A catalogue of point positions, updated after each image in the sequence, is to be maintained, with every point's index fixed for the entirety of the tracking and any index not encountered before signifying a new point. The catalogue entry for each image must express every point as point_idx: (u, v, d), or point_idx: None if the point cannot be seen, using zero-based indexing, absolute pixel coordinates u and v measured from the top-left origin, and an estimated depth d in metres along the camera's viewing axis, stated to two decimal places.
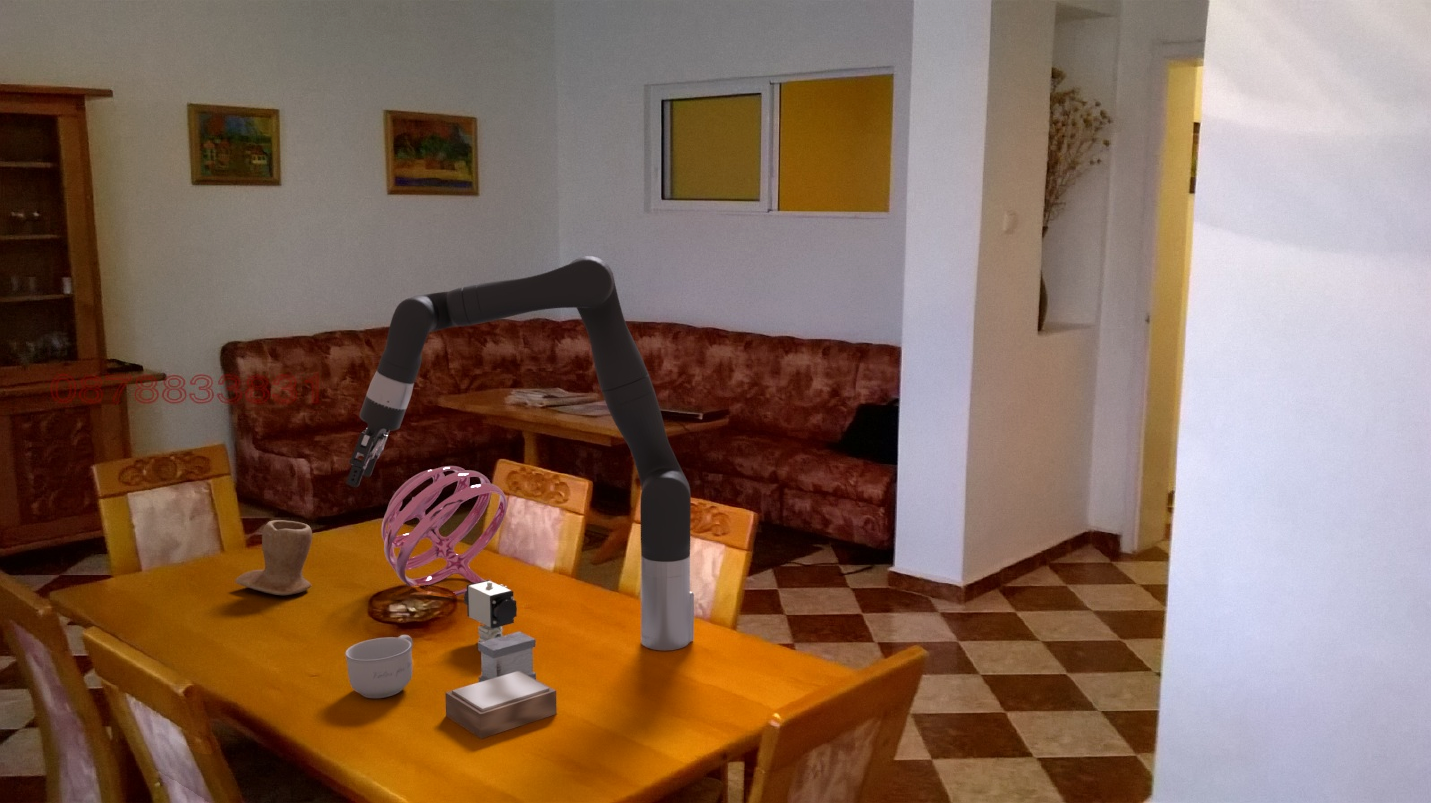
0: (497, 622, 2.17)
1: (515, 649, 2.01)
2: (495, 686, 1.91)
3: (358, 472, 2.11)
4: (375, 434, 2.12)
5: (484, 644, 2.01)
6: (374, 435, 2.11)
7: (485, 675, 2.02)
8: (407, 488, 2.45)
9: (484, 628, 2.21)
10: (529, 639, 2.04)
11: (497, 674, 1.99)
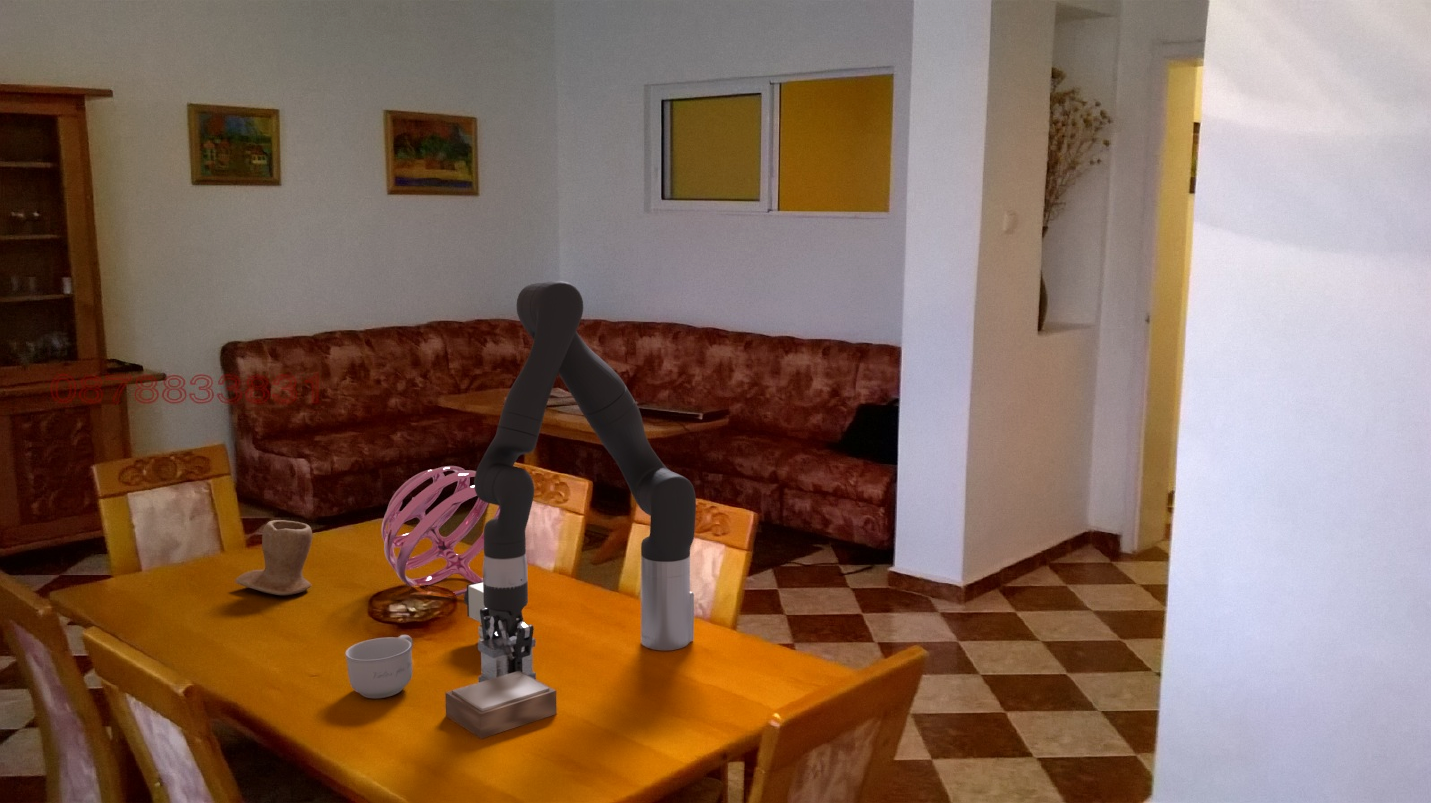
0: None
1: None
2: (495, 686, 1.91)
3: (521, 662, 2.01)
4: (522, 618, 2.00)
5: (484, 644, 2.01)
6: (522, 619, 1.99)
7: (485, 675, 2.02)
8: (407, 488, 2.45)
9: None
10: None
11: (497, 674, 1.99)
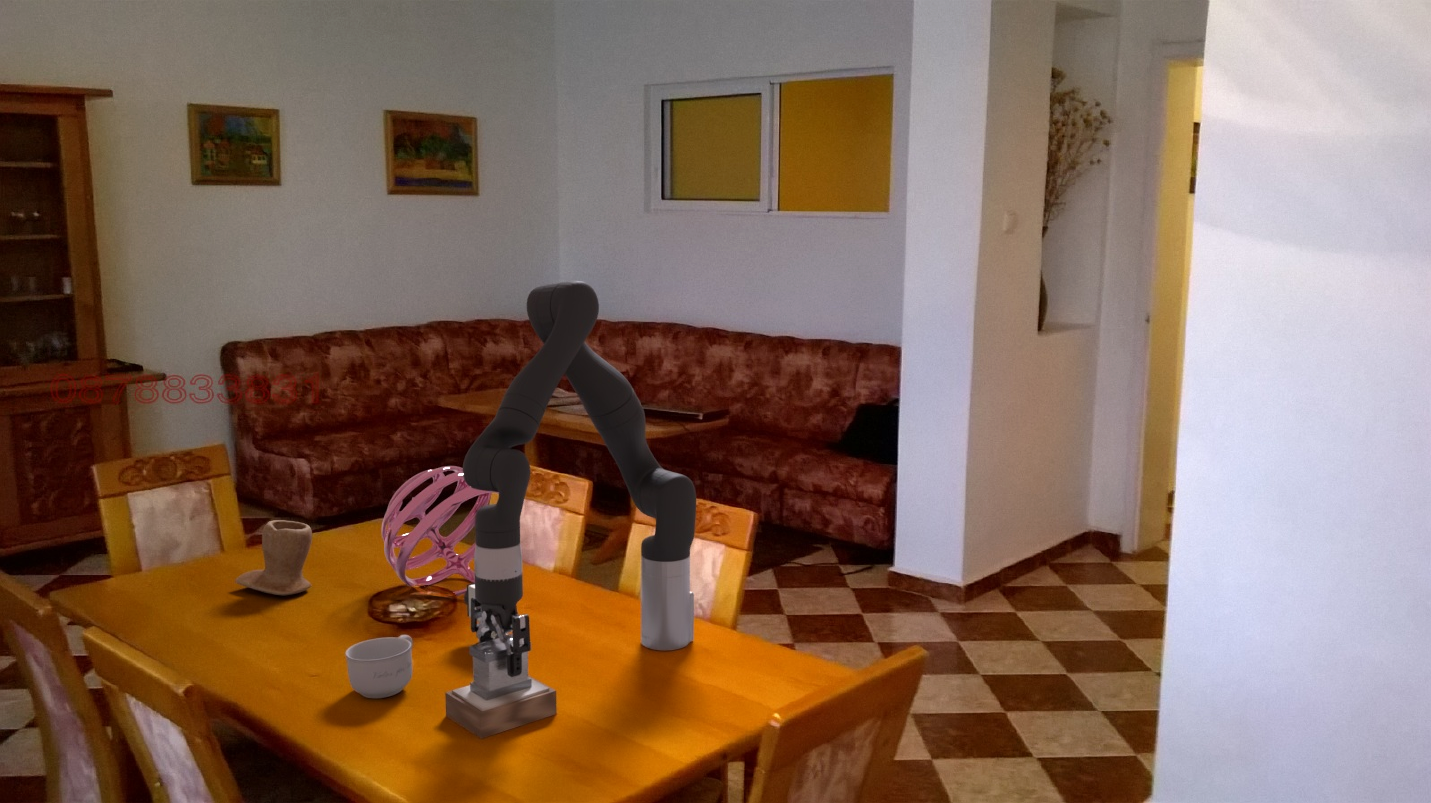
0: None
1: None
2: None
3: (520, 658, 1.85)
4: (516, 611, 1.85)
5: (476, 648, 1.87)
6: (516, 612, 1.85)
7: (477, 681, 1.88)
8: (407, 488, 2.45)
9: None
10: None
11: (490, 680, 1.85)
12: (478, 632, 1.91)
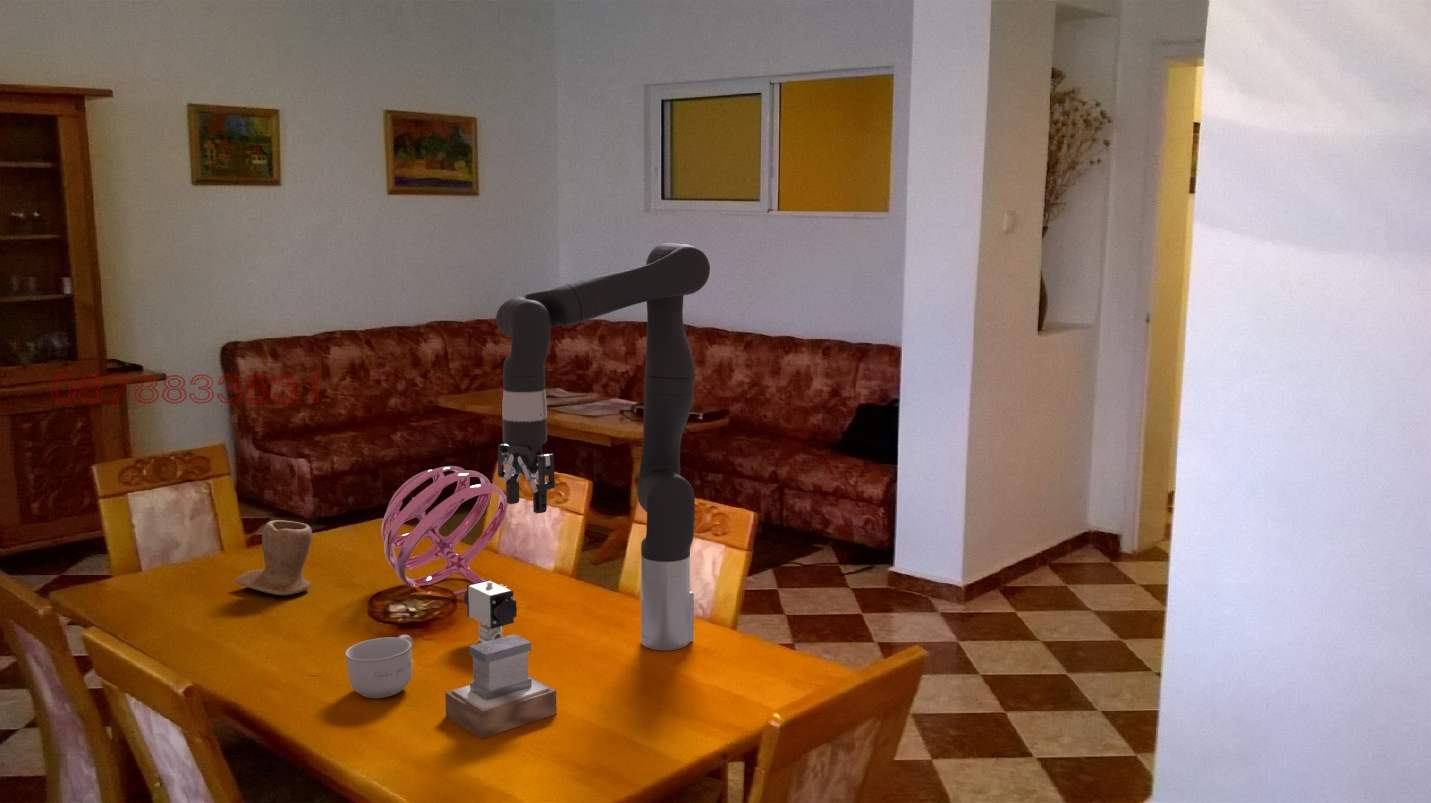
0: (497, 622, 2.17)
1: (509, 653, 1.87)
2: None
3: (545, 495, 1.99)
4: (541, 452, 1.99)
5: (476, 648, 1.87)
6: (541, 453, 1.99)
7: (477, 681, 1.88)
8: (407, 488, 2.45)
9: (484, 628, 2.21)
10: (524, 642, 1.90)
11: (490, 680, 1.85)
12: (505, 476, 2.05)
